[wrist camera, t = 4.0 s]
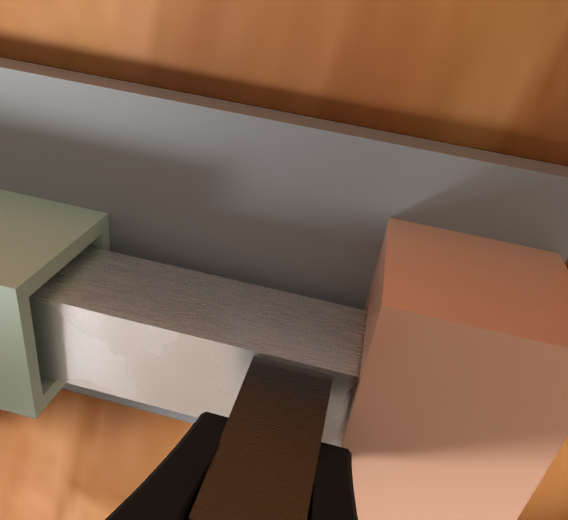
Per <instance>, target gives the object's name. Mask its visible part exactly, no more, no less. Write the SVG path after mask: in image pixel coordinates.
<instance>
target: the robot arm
mask: <svg viewBox="0 0 568 520" xmlns="http://www.w3.org/2000/svg"><path fill="white" fill-rule="evenodd" d="M228 418H229V417H225V416H221V415H217V414H214V413H210V412H204V413H202V414H201V415H200V416H199V417H198V419H197V420H196V422H195V423H194V424H193V426H192V427H191V428H190V429H189V431H188V432H187V433H186V434H185V436H184V437H183V438H182V439H181V441H180V442H179V443H178V444H177V445H176V447H175V448H174V449H173V450H172V451H171V452H170V453H169V455H168V456H167V457H166V458H165V459H164V460H163V461H162V462H161V464H160V465H159V466H158V467H157V468H156V469H155V470H154V471H153V472H152V473H151V474H150V475H149V476H148V477H147V479H146V480H145V481H144V482H143V483H142V484H141V485H140V486H139V487H138V488H137V489H136V490H135V491H134V492H133V493H132V494H131V495H130V496H129V497H128V498H127V499H126V500H125V501H124V502H123V503H122V504H121V505H120V506H119V507H118V508H117V509H116V510H115V511H113V512H112V513H111V514H110V515H109V516H108V517H107V518H106V519H105V520H188V518H189V515H190V513H191V510H192V508H193V505H194V503H195V500H196V498H197V495H198V493H199V490H200V488H201V485H202V483H203V480H204V478H205V475H206V473H207V470H208V468H209V465H210V463H211V460H212V458H213V456H214V454H215V453H216V451H217V449H218V447H219V444H220V442H219V440H220V438H221V435H222V433H223V430H224V428H225V425H226V423H227V420H228ZM307 520H358V516H357V509H356V502H355V495H354V487H353V476H352V454H351V452H350V451H349V450H348V449H346V448H343V447H339V446H335V445H331V444H327V443H324V442H321V446H320V451H319V456H318V462H317V467H316V471H315V478H314V483H313V488H312V494H311V499H310V505H309V510H308V515H307Z"/></svg>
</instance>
